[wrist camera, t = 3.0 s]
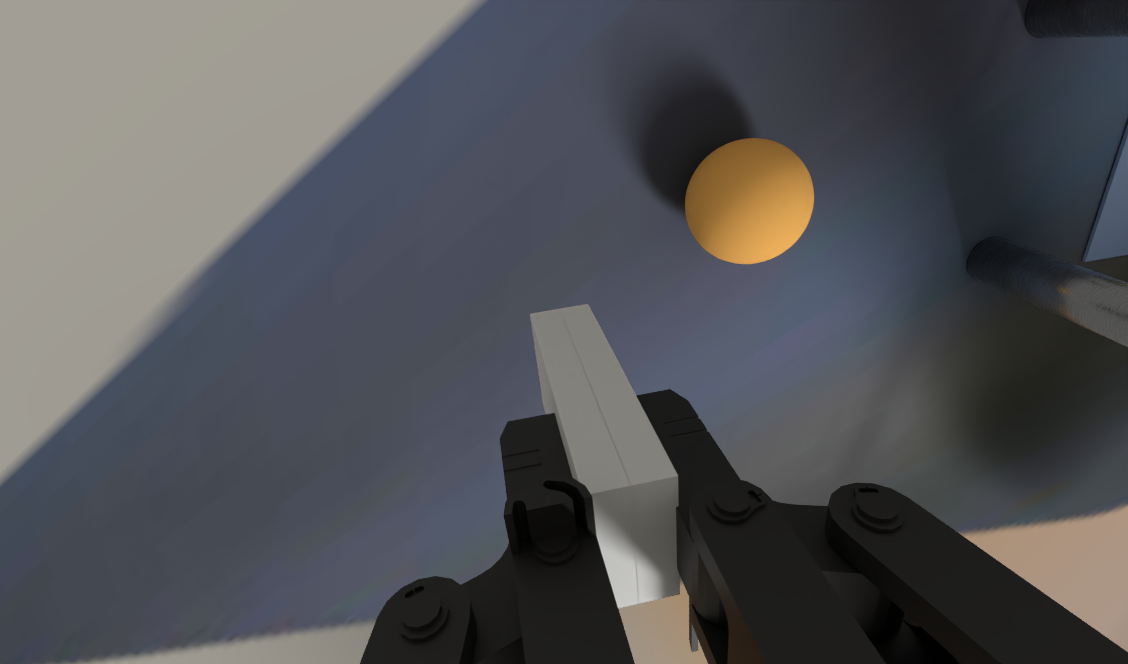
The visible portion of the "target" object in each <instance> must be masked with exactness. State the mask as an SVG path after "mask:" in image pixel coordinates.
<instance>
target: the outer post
mask: <svg viewBox="0 0 1128 664" xmlns="http://www.w3.org/2000/svg"><path fill="white" fill-rule="evenodd" d="M1025 23H1026V27H1027V30H1028V32H1029V33H1030V34H1031V35H1033V36H1034V37H1038V38H1053V37H1122V36H1128V0H1030V1H1029V4H1028V6H1027V10H1026V15H1025Z"/></svg>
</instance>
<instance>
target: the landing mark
mask: <svg viewBox="0 0 1128 664" xmlns="http://www.w3.org/2000/svg"><path fill="white" fill-rule="evenodd" d="M1123 255H1128V124H1127V127H1126V130H1125V133H1124V136H1123V139H1122V142H1121V145H1120V148H1119V151H1118V154H1117V157H1116V160H1115V163H1114V166H1113V169H1112V172H1111V175H1110V178H1109V181H1108V184H1107V187H1106V190H1105V193H1104V196H1103V199H1102V202H1101V205H1100V208H1099V211H1098V214H1097V217H1096V220H1095V223H1094V226H1093V229H1092V232H1091V235H1090V238H1089V241H1088V244H1087V247H1086V250H1085V253H1084V256H1083V259H1082V261H1083V262H1089V261H1095V260H1100V259H1106V258H1112V257H1118V256H1123Z"/></svg>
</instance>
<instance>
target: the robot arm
mask: <svg viewBox="0 0 1128 664" xmlns="http://www.w3.org/2000/svg"><path fill="white" fill-rule="evenodd" d="M530 318H531V324H532V331H533V338H534V345H535V352H536V359H537V365H538V372H539V379H540V386H541V393H542V399H543V405H544V409H545V413H546V415H540V416H535V417H530V418H525V419H519V420H514V421H509V422H507V424H506V427H505V429H504V431H503V433H502V435H501V437H500V445H501V453H502V461H503V469H504V477H505V485H506V493H507V501H506V503H505V510H504V519H505V524H506V529H507V534H508V539H509V544H508V547H507V549H506V551H505V552H504V554H503V555H502V557H501V558H500V559H499V560H498V561H497V562H496V563H495V564H494V565H493V566H492V567H491V568H490V569H488V570H487V571H485V572H484V573H482V574H481V575H479V576H477V577H475V578H473V579H471V580H469V581H467V582H466V583H464V584H462V585H460V584H458V583H457V582H455V581H454V580H452V579H449V578H443V577H437V576H434V577H429V578H423V579H418V580H416V581H414V582H412V583H410V584H408V585H406V586H404V587H402V588H401V589H400V590H399V591H398V592H397V593H395V594H394V595H393V596H392V597H391V598H390V599H389V600H388V601H387V602H386V604H385V606H384V607H383V609H382V611H381V612H380V614H379V616H378V617H377V620H376V623H375V625H374V628H373V631H372V633H371V636H370V639H369V641H368V644H367V646H366V649H365V652H364V654H363V657H362V659H361V663H360V664H635V663H634V660H633V657H632V653H631V650H630V647H629V643H628V640H627V637H626V634H625V630H624V626H623V623H622V620H621V616H620V613H619V610H618V608H621V607H626V606H630V605H634V604H639V603H643V602H648V601H652V600H656V599H660V598H665V597H669V596H674V595H678V594H680V576H681V579H682V581H683V583H684V586H685V588H686V590H687V593H688V595H689V640H690V646H691V651H692V652H694V651H697V650H698V640H699V642H700V645H701V647H702V650H703V652H704V655H705V657H706V659H707V662H708V664H1128V652H1127V651H1125V650H1124V649H1122V648H1121V647H1119V646H1118V645H1117V644H1115V643H1114V642H1112V641H1111V640H1109V639H1108V638H1107V637H1105V636H1103V635H1102V634H1101V633H1100V632H1098V631H1097V630H1095V629H1094V628H1092V627H1091V626H1090V625H1088V624H1087V623H1085V622H1084V621H1082V620H1081V619H1080V618H1078V617H1077V616H1075V615H1074V614H1073V613H1071V612H1070V611H1068V610H1067V609H1065V608H1064V607H1063V606H1061V605H1060V604H1058V603H1057V602H1055V601H1054V600H1052V599H1051V598H1050V597H1048V596H1047V595H1045V594H1044V593H1043V592H1041V591H1040V590H1038V589H1037V588H1036V587H1034V586H1033V585H1031V584H1030V583H1029V582H1027V581H1026V580H1024V579H1023V578H1021V577H1020V576H1018V575H1017V574H1015V573H1014V572H1013V571H1011V570H1010V569H1009V568H1007V567H1006V566H1004V565H1003V564H1002V563H1000V562H999V561H997V560H996V559H994V558H993V557H992V556H990V555H989V554H987V553H986V552H984V551H983V550H982V549H980V548H979V547H977V546H976V545H975V544H973V543H972V542H970V541H969V540H967V539H966V538H965V537H963V536H962V535H960V534H959V533H957V532H956V531H955V530H953V529H952V528H950V527H949V526H948V525H946V524H945V523H943V522H942V521H940V520H939V519H938V518H936V517H935V516H933V515H932V514H931V513H929V512H928V511H926V510H925V509H923V508H922V507H921V506H919V505H918V504H916V503H915V502H913V501H912V500H911V499H909V498H908V497H906V496H904V495H902V494H900V493H898V492H897V491H895V490H893V489H891V488H887V487H884V486H880V485H876V484H872V483H853V484H849V485H845V486H841V487H840V488H839V489H837V490H836V491H835V492H834V493H832V494H831V497H830V501H829V504H828V506H811V505H793V504H785V503H779V502H776V501H772V499H771V498H770V497H769V496H768V495H767V494H766V493H765V492H764V491H763V490H762V489H761V488H759V487H757V486H755V485H753V484H751V483H749V482H747V481H743V480H740V478H739V477H738V475H737V474H736V472H735V471H734V469H733V468H732V466H731V465H730V463H729V462H728V460H727V459H726V457H725V456H724V454H723V453H722V451H721V450H720V448H719V447H718V445H717V444H716V442H715V441H714V439H713V438H712V436H711V435H710V433H709V432H707V429H706V427H705V426H704V424H703V423H702V421H701V420H700V419H699V418H698V415H697V413H696V412H695V410H694V409H693V407H692V406H691V404H690V403H689V401H688V400H686V399H685V398H683V397H681V396H680V395H678V394H677V393H675V392H674V391H672V390H670V389H668V390H663V391H658V392H653V393H647V394H642V395H637V396H636V394H635V393H634V391H633V389H632V387H631V385H630V383H629V381H628V379H627V377H626V375H625V374H624V372H623V370H622V368H621V366H620V364H619V362H618V360H617V358H616V356H615V354H614V353H613V351H612V349H611V347H610V345H609V343H608V341H607V339H606V337H605V335H604V333H603V332H602V330H601V328H600V326H599V324H598V322H597V320H596V318H595V316H594V314H593V313H592V311H591V309H590V307H589V305H588V304H585V305H579V306H573V307H567V308H561V309H555V310H549V311H544V312H538V313H532V314H530ZM679 574H680V575H679Z"/></svg>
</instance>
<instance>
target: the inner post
mask: <svg viewBox="0 0 1128 664" xmlns="http://www.w3.org/2000/svg"><path fill="white" fill-rule="evenodd" d="M967 271H968V273H969V275H970V276H971V277H973V278H975V279H977V280H980V281H982V282H984V283H986V284H989V285H991V286H993V287H995V288H998V289H1000V290H1002V291H1004V292H1006V293H1009V294H1011V295H1013V296H1015V297H1018V298H1020V299H1022V300H1024V301H1027V302H1029V303H1031V304H1033V305H1035V306H1038V307H1040V308H1042V309H1044V310H1047V311H1049V312H1051V313H1053V314H1056V315H1058V316H1060V317H1062V318H1064V319H1067V320H1069V321H1071V322H1073V323H1076V324H1078V325H1080V326H1082V327H1085V328H1087V329H1089V330H1091V331H1093V332H1096V333H1098V334H1100V335H1102V336H1105V337H1107V338H1109V339H1111V340H1113V341H1116V342H1118V343H1120V344H1122V345H1125V346H1127V347H1128V283H1127V282H1125V281H1122V280H1119V279H1116V278H1113V277H1110V276H1107V275H1105V274H1102V273H1099V272H1096V271H1093V270H1090V269H1088V268H1085V267H1082V266H1079V265H1076V264H1073V263H1071V262H1068V261H1065V260H1062V259H1059V258H1056V257H1054V256H1051V255H1048V254H1045V253H1042V252H1039V251H1037V250H1034V249H1031V248H1028V247H1025V246H1022V245H1020V244H1017V243H1014V242H1011V241H1008V240H1005V239H1003V238H1000V237H991V238H988V239H986V240H984V241H982V242H981V243H979V244H978V245H977V246H976V247H975V248H974V249H973V251H972V252H971V254H970V256H969V258H968V261H967Z"/></svg>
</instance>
